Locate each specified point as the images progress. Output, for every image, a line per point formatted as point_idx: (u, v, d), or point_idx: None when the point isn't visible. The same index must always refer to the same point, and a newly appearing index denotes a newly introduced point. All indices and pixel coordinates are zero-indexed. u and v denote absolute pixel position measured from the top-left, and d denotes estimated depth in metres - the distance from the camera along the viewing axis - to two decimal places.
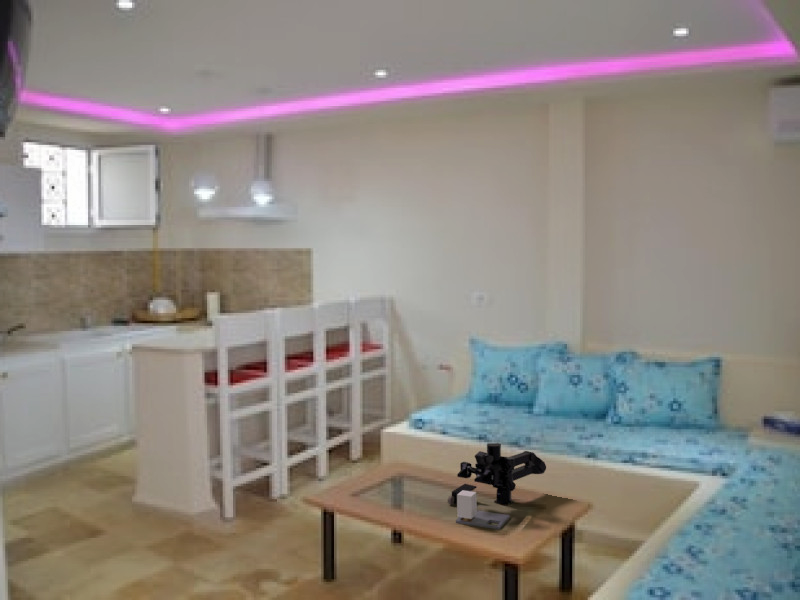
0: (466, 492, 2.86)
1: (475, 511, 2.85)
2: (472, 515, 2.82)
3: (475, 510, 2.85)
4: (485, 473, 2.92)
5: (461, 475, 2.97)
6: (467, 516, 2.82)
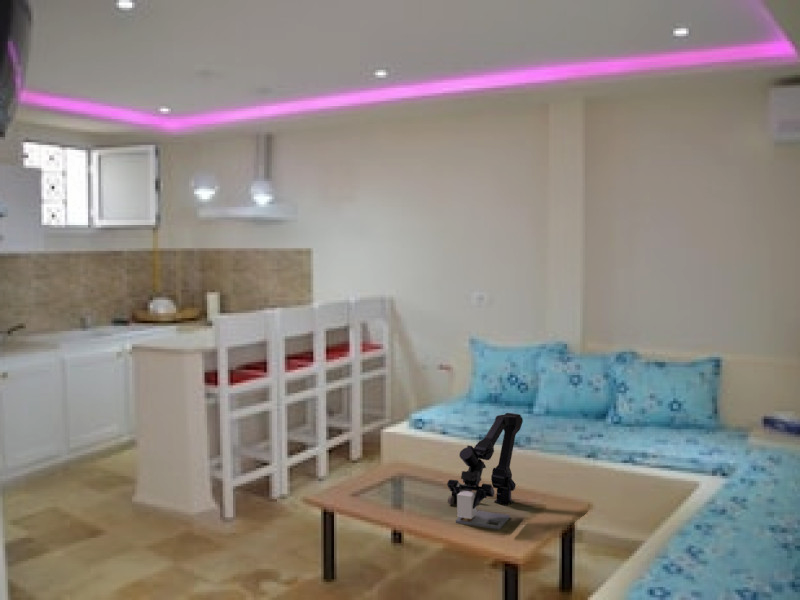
0: (466, 492, 2.86)
1: (475, 511, 2.85)
2: (472, 515, 2.82)
3: (475, 510, 2.85)
4: (478, 493, 2.84)
5: None
6: (467, 516, 2.82)
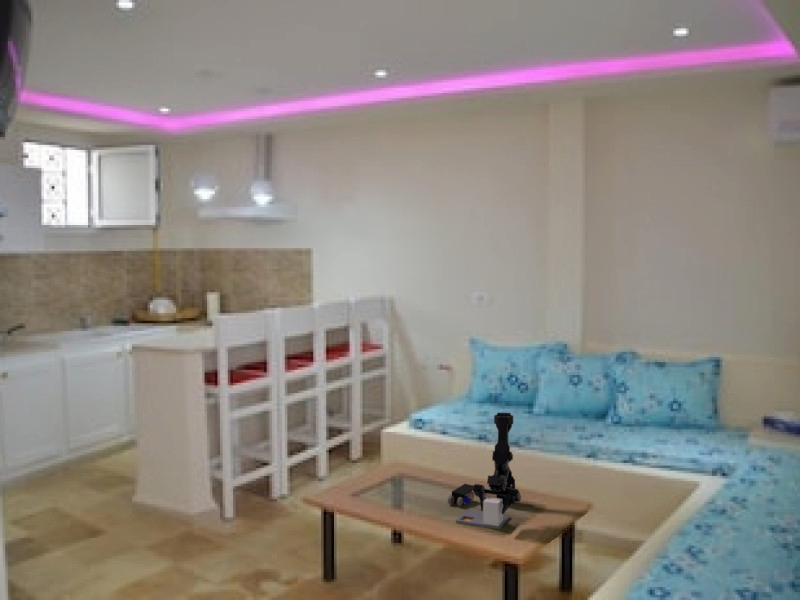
0: (492, 499, 2.81)
1: (501, 518, 2.80)
2: (499, 522, 2.77)
3: (501, 517, 2.80)
4: (507, 499, 2.78)
5: None
6: (494, 523, 2.77)
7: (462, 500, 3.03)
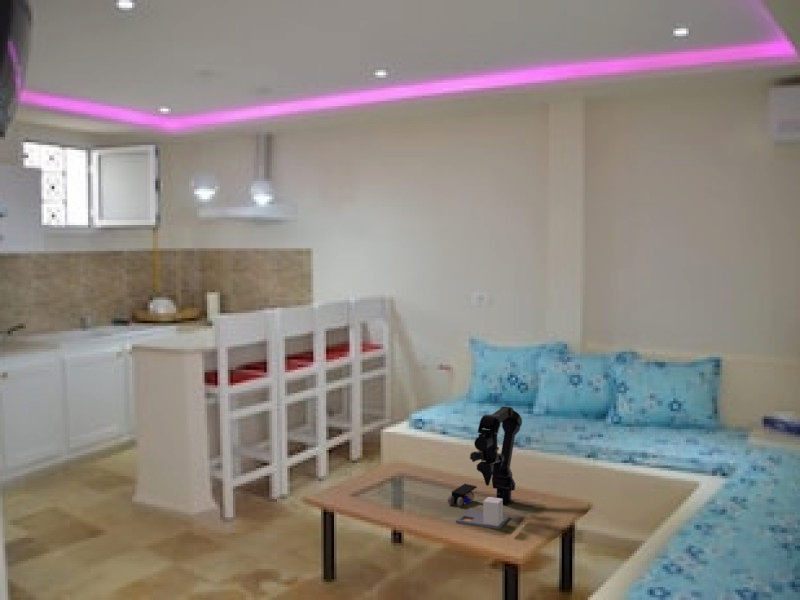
0: (492, 499, 2.81)
1: (501, 518, 2.80)
2: (499, 522, 2.77)
3: (501, 517, 2.80)
4: None
5: (495, 473, 3.02)
6: (494, 523, 2.77)
7: (462, 500, 3.03)
